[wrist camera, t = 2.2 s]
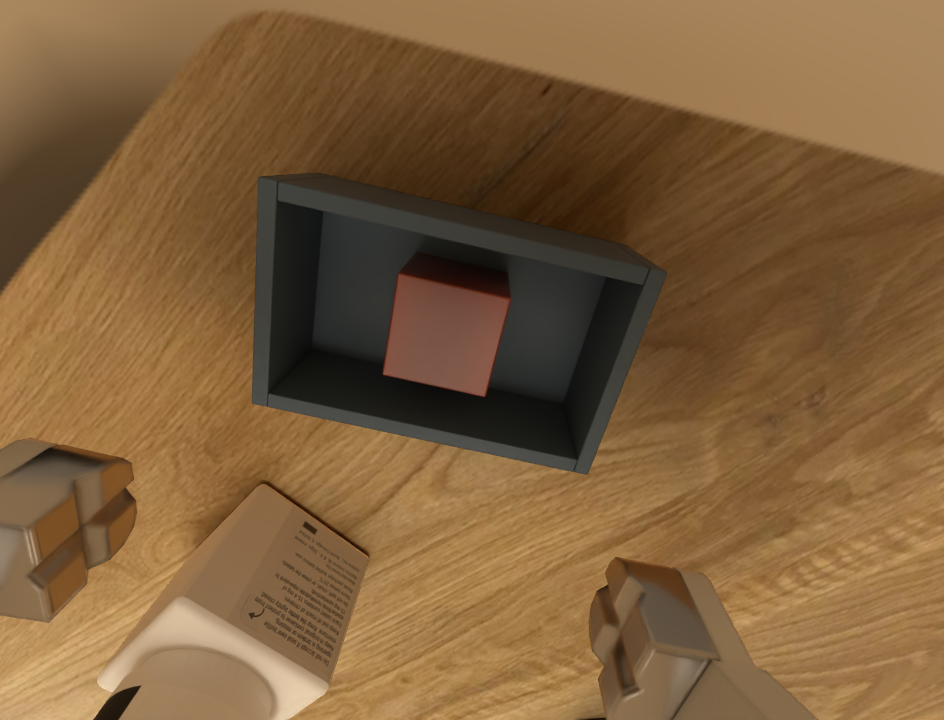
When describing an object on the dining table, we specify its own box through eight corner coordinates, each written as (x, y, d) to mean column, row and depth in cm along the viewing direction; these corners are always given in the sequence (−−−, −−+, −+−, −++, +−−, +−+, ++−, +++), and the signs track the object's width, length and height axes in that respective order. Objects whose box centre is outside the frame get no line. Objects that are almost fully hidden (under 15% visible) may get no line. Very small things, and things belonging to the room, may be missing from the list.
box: (627, 245, 19) (668, 272, 15) (569, 410, 23) (588, 475, 18) (317, 172, 19) (257, 176, 14) (303, 352, 22) (251, 403, 17)
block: (509, 272, 20) (511, 298, 16) (487, 356, 21) (485, 398, 17) (416, 250, 19) (397, 272, 16) (401, 337, 21) (381, 375, 17)
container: (297, 617, 30) (163, 925, 18) (193, 551, 28) (-36, 846, 16) (373, 555, 27) (276, 865, 15) (264, 478, 25) (56, 762, 13)
